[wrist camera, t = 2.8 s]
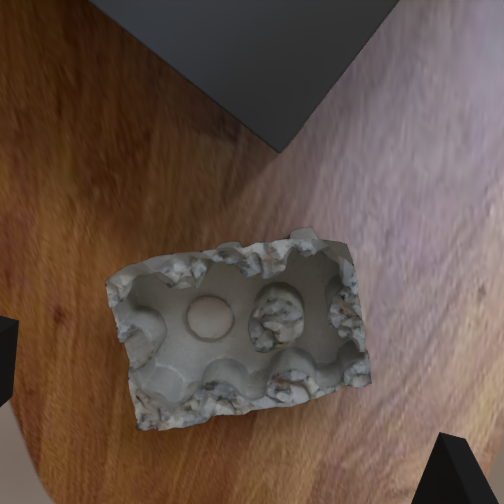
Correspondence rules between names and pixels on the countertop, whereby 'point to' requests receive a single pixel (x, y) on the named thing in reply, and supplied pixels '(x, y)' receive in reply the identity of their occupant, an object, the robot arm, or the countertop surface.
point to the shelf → (255, 51)
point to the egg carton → (239, 328)
